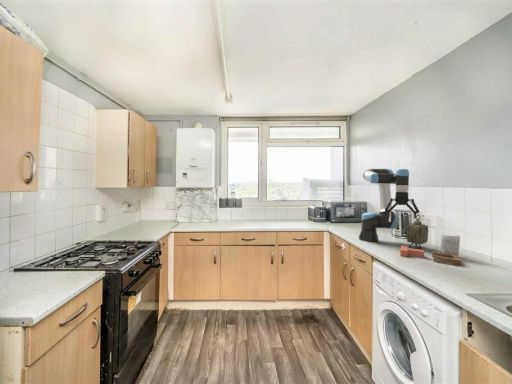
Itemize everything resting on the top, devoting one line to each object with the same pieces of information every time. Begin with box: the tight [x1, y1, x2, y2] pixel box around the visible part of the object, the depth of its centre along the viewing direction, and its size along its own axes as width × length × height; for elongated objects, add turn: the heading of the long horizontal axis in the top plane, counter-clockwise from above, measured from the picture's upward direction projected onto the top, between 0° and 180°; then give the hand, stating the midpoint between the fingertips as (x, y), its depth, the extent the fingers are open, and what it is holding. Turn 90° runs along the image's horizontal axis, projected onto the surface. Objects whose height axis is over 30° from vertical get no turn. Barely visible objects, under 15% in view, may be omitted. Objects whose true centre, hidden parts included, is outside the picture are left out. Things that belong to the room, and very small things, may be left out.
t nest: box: [431, 251, 463, 267], centre depth 144 cm, size 14×13×3 cm
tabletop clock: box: [406, 214, 429, 249], centre depth 172 cm, size 14×9×25 cm, turn 124°
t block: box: [399, 245, 425, 259], centre depth 154 cm, size 13×13×4 cm
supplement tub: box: [440, 232, 461, 257], centre depth 154 cm, size 10×10×15 cm
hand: (401, 222), depth 157 cm, fingers open, 13 cm apart
